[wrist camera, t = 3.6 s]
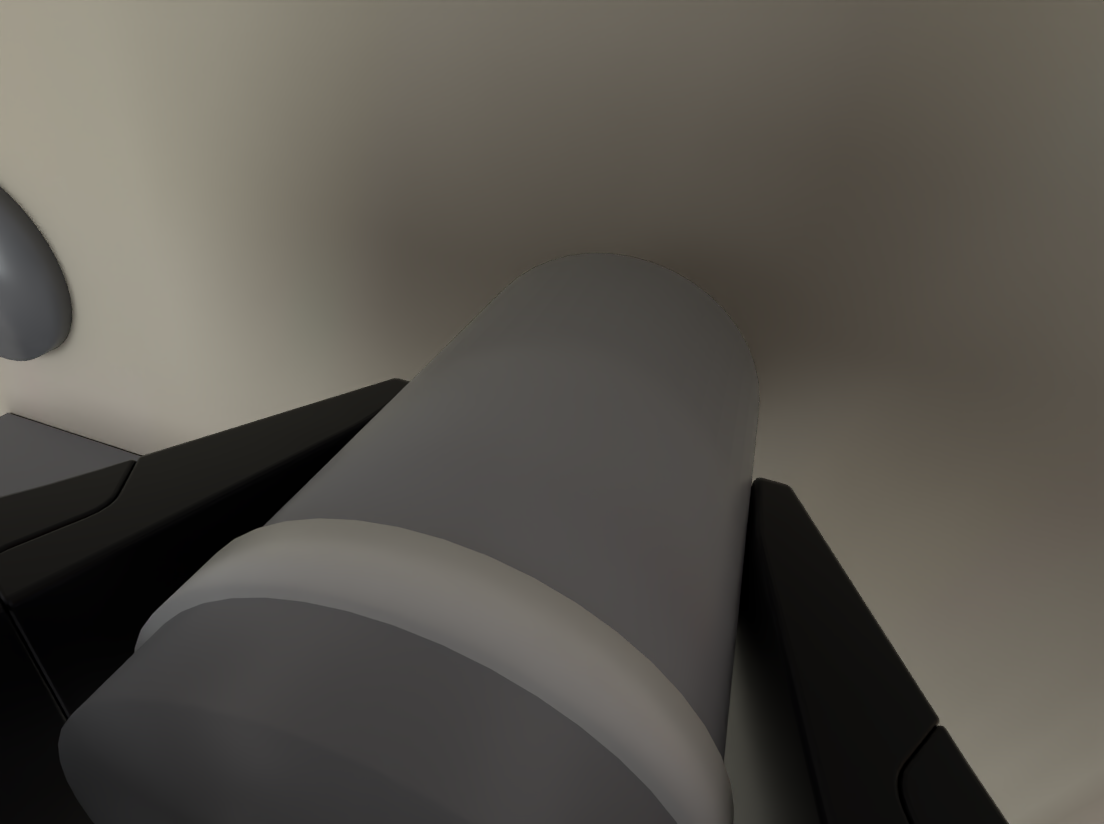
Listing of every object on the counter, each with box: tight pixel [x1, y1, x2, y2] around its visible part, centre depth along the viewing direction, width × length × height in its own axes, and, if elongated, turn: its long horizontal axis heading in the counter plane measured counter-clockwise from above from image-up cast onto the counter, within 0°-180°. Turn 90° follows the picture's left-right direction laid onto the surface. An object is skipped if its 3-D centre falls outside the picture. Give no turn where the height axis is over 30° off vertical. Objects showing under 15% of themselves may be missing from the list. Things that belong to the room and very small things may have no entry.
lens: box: [58, 253, 760, 824], centre depth 7 cm, size 5×5×7 cm
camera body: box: [0, 413, 141, 497], centre depth 18 cm, size 11×8×6 cm
